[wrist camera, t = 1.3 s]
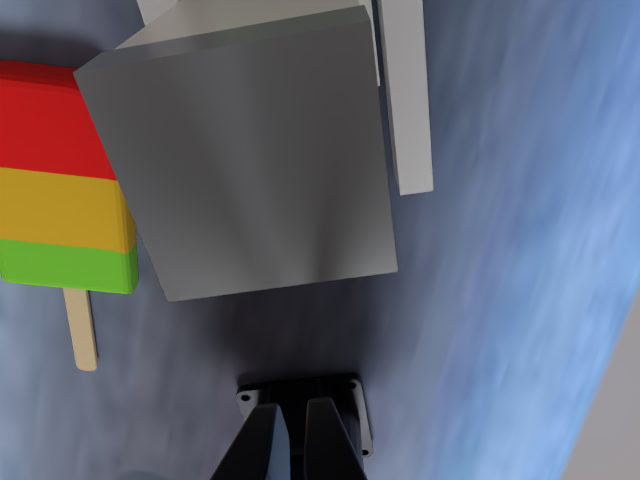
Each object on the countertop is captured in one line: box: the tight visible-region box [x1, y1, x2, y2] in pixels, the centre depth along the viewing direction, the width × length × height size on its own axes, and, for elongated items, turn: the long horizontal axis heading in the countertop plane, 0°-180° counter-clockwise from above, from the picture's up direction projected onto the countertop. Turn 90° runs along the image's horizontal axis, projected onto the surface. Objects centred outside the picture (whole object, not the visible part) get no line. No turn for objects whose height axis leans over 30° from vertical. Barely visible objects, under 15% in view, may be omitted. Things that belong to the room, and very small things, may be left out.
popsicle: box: [0, 60, 139, 371], centre depth 22 cm, size 6×15×2 cm, turn 173°
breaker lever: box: [73, 0, 398, 302], centre depth 13 cm, size 4×4×11 cm
